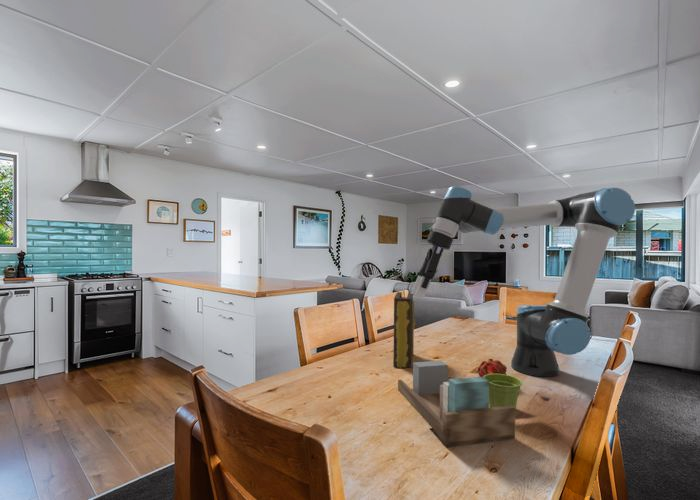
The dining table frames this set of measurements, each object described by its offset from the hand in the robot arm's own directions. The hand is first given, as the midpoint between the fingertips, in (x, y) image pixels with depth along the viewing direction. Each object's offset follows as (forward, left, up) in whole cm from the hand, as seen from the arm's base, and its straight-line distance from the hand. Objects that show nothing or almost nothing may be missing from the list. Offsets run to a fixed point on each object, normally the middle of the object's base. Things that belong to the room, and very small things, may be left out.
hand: (416, 296), depth 111 cm
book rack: (-1, +20, -28) cm, 34 cm away
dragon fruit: (-24, +5, -28) cm, 37 cm away
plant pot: (-15, +22, -28) cm, 39 cm away
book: (-6, -25, -28) cm, 38 cm away
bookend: (-1, +8, -27) cm, 28 cm away
